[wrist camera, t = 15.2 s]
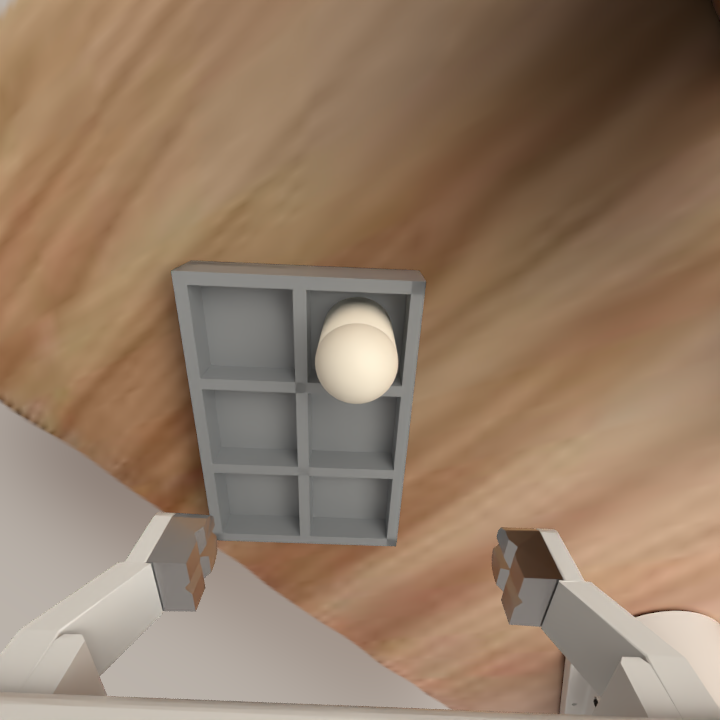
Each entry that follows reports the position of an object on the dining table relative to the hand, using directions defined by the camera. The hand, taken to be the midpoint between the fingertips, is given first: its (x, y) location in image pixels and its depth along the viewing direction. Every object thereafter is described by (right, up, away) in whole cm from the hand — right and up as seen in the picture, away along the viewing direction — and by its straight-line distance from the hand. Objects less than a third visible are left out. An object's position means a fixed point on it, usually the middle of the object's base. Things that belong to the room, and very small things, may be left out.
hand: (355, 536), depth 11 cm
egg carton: (-4, +1, +19) cm, 19 cm away
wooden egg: (0, +7, +15) cm, 17 cm away
